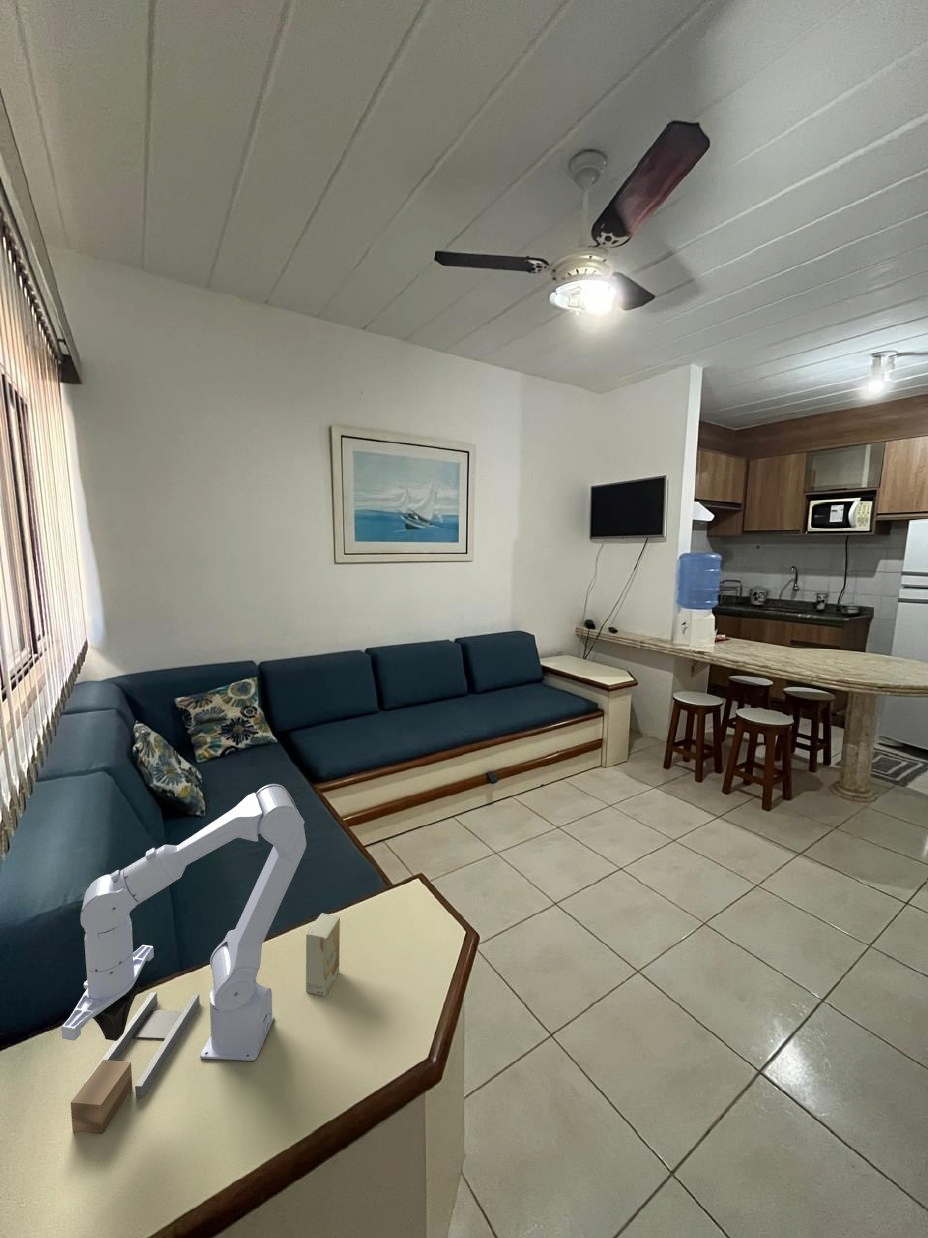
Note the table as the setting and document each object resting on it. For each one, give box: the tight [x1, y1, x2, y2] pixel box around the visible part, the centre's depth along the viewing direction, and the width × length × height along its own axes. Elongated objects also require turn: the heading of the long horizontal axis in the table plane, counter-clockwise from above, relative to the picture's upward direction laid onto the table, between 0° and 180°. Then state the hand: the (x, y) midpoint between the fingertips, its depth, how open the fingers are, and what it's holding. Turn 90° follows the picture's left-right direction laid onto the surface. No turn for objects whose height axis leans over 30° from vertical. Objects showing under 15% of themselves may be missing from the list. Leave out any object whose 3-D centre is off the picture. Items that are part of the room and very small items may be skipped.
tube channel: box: [83, 991, 201, 1098], centre depth 83 cm, size 9×16×2 cm, turn 179°
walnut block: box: [70, 1060, 133, 1135], centre depth 73 cm, size 4×6×5 cm
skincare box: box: [305, 912, 341, 997], centre depth 96 cm, size 6×4×12 cm
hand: (114, 1036), depth 75 cm, fingers closed
